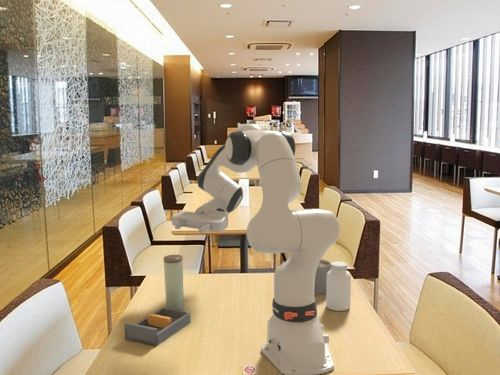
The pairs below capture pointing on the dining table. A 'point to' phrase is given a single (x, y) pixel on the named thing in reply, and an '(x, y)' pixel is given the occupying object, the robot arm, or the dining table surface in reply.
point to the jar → (174, 282)
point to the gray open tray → (153, 333)
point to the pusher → (158, 320)
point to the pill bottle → (338, 287)
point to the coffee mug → (321, 276)
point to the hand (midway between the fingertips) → (188, 228)
